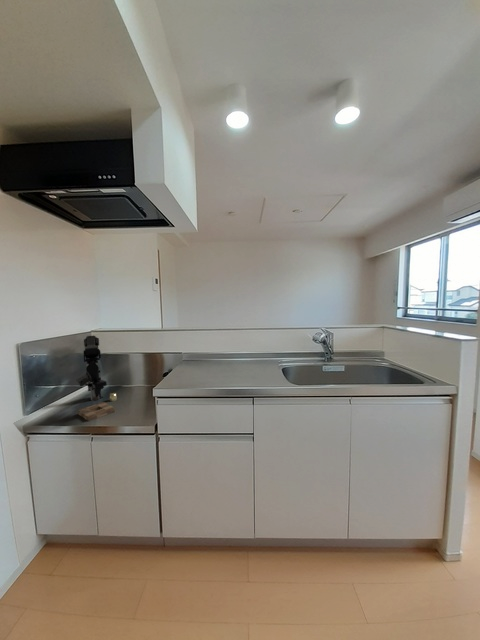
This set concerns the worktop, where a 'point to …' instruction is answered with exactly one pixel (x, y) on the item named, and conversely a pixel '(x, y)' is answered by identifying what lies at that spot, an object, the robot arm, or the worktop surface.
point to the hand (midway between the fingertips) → (95, 396)
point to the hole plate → (96, 411)
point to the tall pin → (93, 395)
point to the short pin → (113, 397)
